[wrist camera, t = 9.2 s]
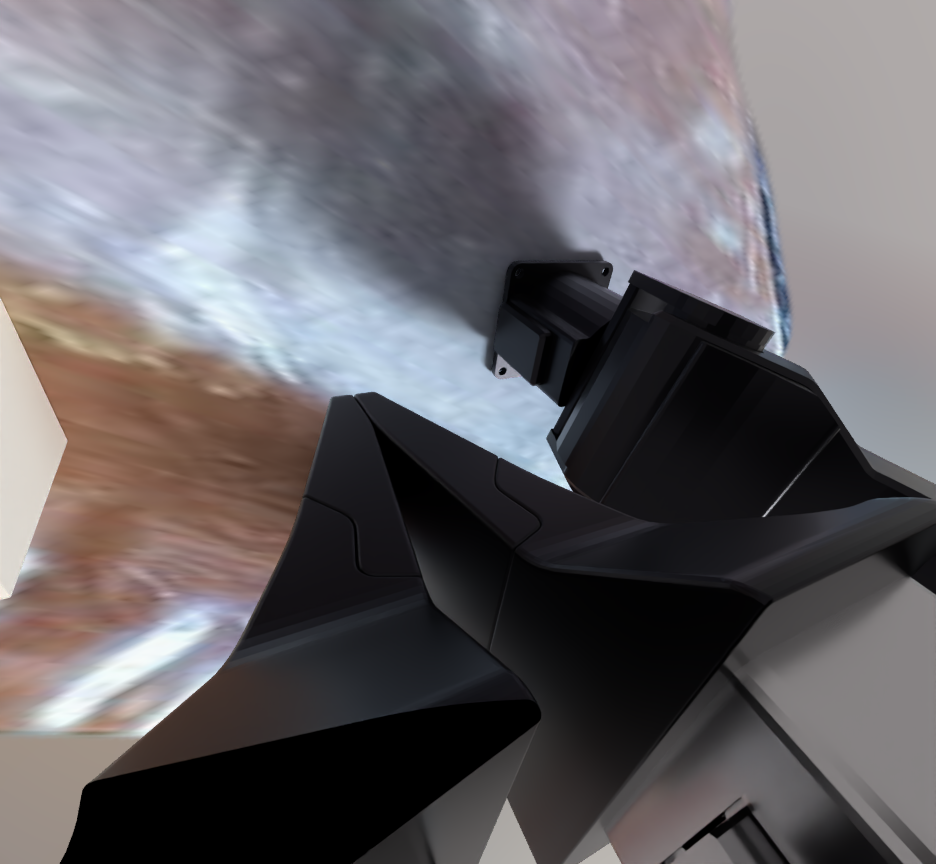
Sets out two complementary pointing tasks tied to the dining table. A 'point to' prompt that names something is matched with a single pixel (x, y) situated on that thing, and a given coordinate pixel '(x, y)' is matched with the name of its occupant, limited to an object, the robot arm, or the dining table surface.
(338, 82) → the dining table surface
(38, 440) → the button bar
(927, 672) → the robot arm
